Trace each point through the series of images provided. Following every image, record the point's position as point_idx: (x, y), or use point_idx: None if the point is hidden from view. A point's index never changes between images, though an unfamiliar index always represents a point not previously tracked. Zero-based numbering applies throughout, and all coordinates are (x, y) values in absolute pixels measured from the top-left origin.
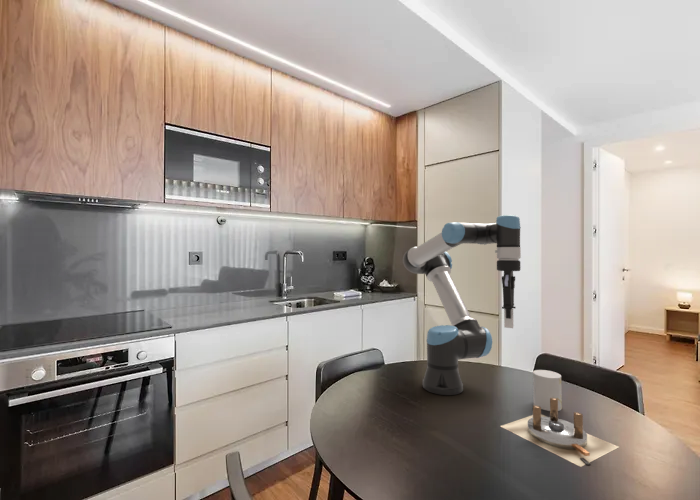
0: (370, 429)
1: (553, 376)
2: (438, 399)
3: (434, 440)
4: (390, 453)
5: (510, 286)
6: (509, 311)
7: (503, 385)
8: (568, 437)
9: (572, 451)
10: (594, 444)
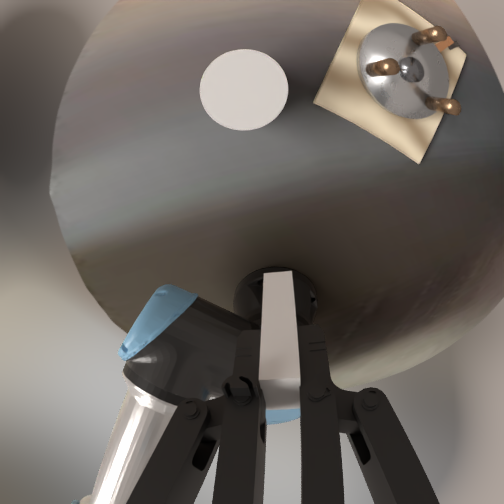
0: (459, 303)
1: (259, 67)
2: (337, 285)
3: (467, 237)
4: (495, 263)
5: None
6: (327, 372)
7: (164, 211)
8: (429, 55)
9: None
10: (390, 16)
